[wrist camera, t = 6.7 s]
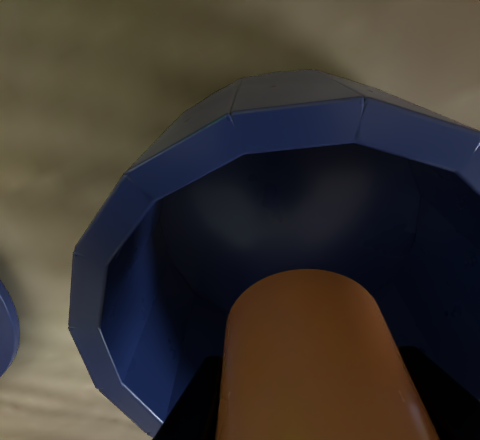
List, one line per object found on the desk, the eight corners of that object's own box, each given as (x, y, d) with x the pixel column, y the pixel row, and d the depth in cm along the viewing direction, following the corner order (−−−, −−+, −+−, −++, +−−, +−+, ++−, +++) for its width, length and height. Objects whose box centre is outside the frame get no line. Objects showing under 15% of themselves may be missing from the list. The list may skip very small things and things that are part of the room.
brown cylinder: (375, 378, 10) (445, 571, 6) (235, 385, 10) (225, 570, 7) (387, 261, 8) (492, 437, 4) (215, 273, 8) (187, 446, 5)
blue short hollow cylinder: (416, 320, 16) (503, 473, 11) (176, 334, 17) (138, 481, 12) (457, 48, 11) (672, 60, 5) (110, 92, 12) (-21, 140, 6)
